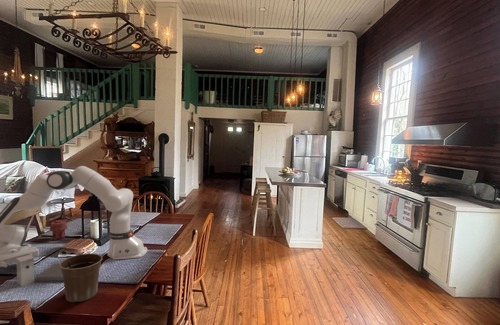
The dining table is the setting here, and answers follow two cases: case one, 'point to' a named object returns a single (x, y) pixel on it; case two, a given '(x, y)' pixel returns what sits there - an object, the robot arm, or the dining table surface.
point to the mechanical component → (58, 229)
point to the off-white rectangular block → (25, 270)
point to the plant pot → (81, 276)
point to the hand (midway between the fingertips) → (19, 261)
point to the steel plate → (51, 274)
